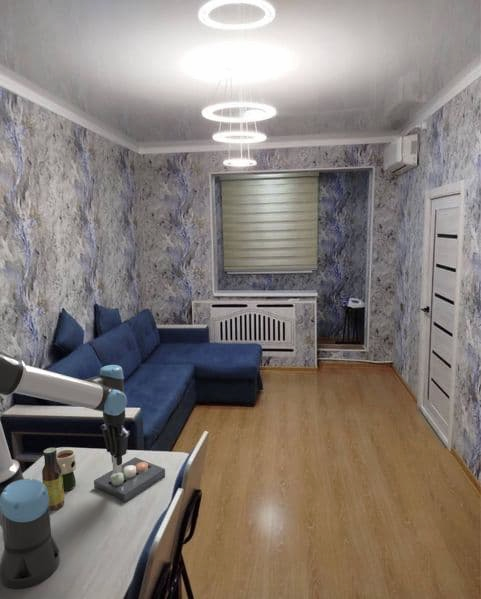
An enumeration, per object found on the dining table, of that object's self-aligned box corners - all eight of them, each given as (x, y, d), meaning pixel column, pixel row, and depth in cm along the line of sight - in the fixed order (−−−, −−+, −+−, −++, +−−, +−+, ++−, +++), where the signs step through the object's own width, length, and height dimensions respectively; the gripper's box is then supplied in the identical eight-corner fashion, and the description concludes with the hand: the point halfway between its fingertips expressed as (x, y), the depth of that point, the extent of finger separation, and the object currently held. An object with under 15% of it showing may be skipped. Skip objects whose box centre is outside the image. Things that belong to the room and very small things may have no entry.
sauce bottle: (68, 505, 152) (64, 450, 149) (49, 513, 147) (45, 457, 144) (59, 497, 156) (55, 444, 153) (41, 505, 152) (36, 450, 149)
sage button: (117, 489, 157) (116, 480, 157) (108, 485, 160) (108, 476, 159) (126, 483, 161) (126, 474, 160) (118, 480, 163) (117, 471, 163)
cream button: (130, 481, 162) (129, 472, 162) (121, 478, 165) (121, 469, 164) (138, 476, 166) (138, 467, 165) (130, 472, 168) (130, 463, 168)
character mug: (75, 493, 158) (73, 459, 156) (54, 497, 156) (51, 462, 154) (78, 477, 169) (76, 445, 167) (58, 480, 167) (55, 448, 165)
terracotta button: (142, 477, 167) (141, 469, 167) (134, 474, 170) (133, 465, 169) (150, 472, 171) (150, 464, 170) (142, 469, 173) (142, 460, 173)
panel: (124, 502, 153) (124, 494, 152) (94, 488, 162) (93, 480, 161) (165, 476, 169) (164, 468, 169) (135, 464, 178) (135, 457, 178)
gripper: (135, 409, 156) (138, 472, 159) (109, 402, 163) (113, 462, 166) (118, 417, 149) (122, 482, 153) (92, 409, 157) (97, 471, 160)
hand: (117, 471), depth 160 cm, fingers closed
